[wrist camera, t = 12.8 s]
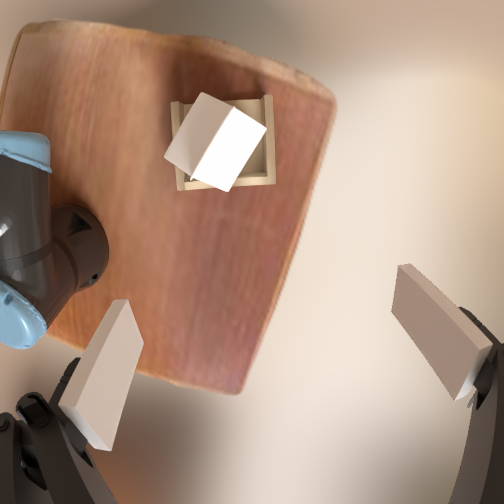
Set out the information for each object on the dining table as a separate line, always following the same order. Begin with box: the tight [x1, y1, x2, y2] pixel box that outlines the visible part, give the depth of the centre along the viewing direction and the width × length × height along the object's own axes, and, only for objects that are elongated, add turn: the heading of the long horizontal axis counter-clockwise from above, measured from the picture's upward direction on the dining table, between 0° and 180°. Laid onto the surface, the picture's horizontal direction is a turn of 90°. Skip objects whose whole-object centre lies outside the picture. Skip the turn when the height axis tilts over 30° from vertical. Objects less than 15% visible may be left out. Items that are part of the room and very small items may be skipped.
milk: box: [164, 92, 267, 192], centre depth 29 cm, size 6×6×22 cm
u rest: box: [171, 95, 276, 191], centre depth 37 cm, size 12×12×6 cm
